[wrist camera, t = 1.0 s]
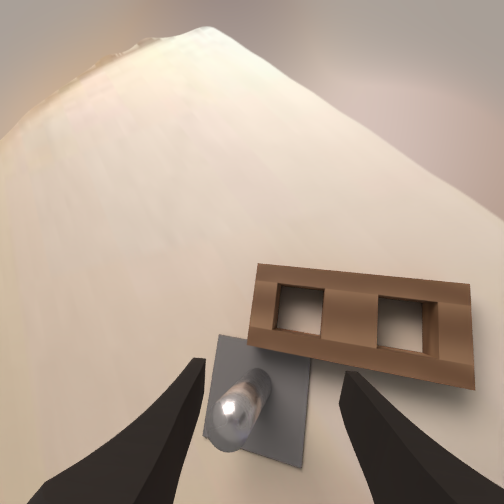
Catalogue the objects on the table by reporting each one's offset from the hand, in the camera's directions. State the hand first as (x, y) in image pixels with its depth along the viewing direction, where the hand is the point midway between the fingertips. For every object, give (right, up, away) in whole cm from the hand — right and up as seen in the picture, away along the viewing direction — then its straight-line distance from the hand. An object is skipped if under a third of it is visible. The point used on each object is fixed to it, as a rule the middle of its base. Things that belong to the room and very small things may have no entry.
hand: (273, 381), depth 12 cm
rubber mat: (-1, -8, +12) cm, 14 cm away
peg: (-1, -7, +12) cm, 14 cm away
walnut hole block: (+8, 0, +12) cm, 14 cm away
